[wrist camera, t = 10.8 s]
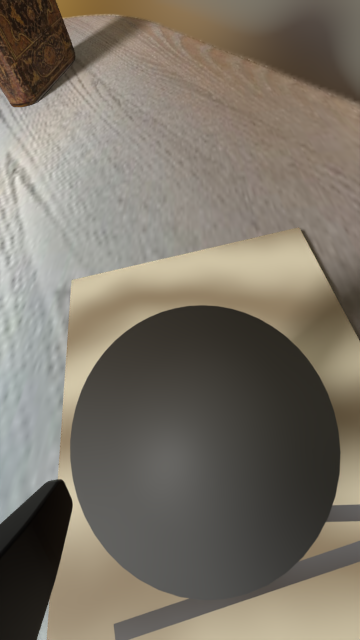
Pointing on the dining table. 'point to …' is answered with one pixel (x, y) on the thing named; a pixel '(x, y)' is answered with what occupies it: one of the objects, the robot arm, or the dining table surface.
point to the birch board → (354, 434)
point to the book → (32, 49)
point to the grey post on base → (205, 452)
